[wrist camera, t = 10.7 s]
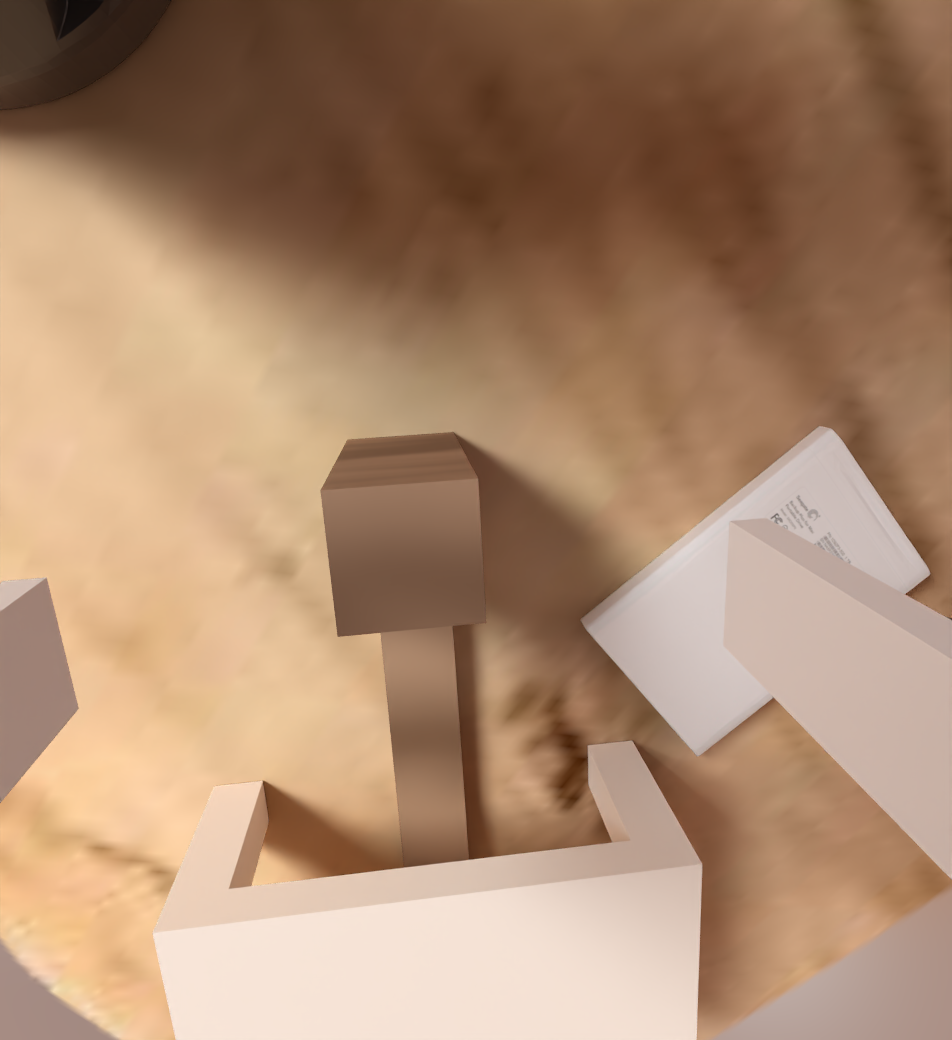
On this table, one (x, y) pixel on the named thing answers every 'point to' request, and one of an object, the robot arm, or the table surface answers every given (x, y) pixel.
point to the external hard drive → (702, 586)
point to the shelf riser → (442, 934)
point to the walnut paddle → (412, 610)
